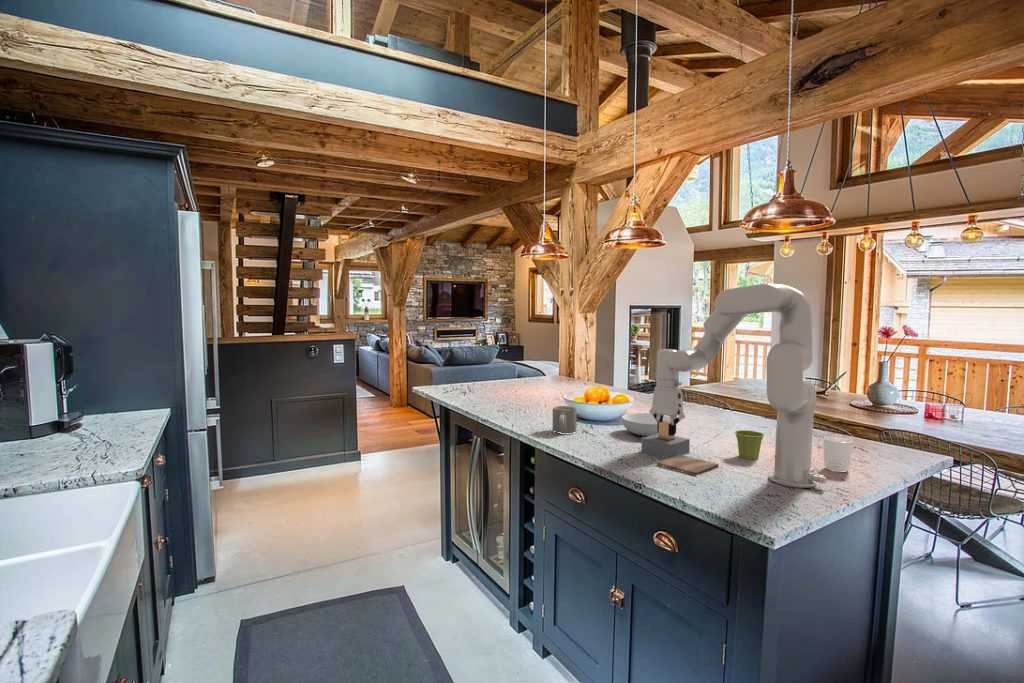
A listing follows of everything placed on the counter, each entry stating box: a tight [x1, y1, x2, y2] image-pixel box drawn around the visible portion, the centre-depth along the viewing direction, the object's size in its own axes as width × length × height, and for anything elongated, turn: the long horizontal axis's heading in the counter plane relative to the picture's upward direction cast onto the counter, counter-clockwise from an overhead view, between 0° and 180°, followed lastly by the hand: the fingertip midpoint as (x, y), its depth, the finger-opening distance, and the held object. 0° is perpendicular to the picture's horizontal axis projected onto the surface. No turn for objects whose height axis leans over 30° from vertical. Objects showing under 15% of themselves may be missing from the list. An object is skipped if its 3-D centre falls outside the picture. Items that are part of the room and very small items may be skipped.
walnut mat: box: [656, 455, 719, 476], centre depth 166 cm, size 14×14×1 cm
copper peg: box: [659, 420, 676, 441], centre depth 182 cm, size 4×4×10 cm
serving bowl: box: [621, 412, 670, 437], centre depth 209 cm, size 21×21×7 cm
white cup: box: [823, 435, 853, 471], centre depth 164 cm, size 8×8×10 cm
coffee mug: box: [552, 405, 577, 433], centre depth 211 cm, size 13×10×10 cm
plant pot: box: [734, 429, 765, 460], centre depth 177 cm, size 9×9×9 cm
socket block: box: [641, 433, 691, 459], centre depth 182 cm, size 12×12×5 cm
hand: (666, 433), depth 182 cm, fingers closed on copper peg, 4 cm apart
